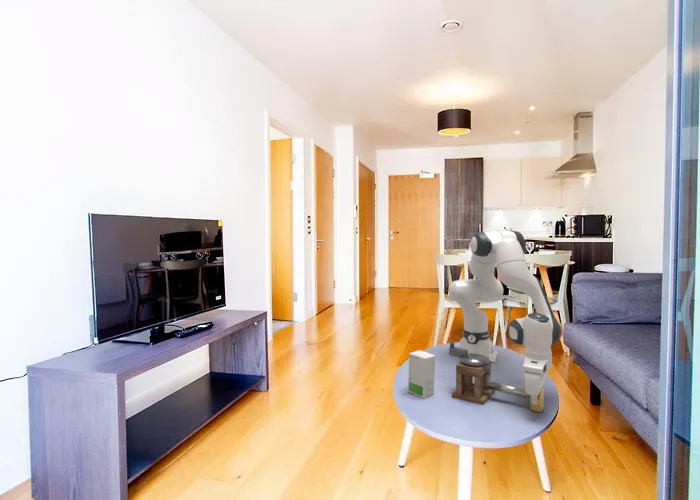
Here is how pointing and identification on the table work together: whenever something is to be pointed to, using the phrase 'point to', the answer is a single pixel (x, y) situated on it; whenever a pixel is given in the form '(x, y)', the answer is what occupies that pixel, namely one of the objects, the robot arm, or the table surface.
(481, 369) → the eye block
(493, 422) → the table surface
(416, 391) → the skincare box
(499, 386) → the gold cube on rod
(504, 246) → the robot arm
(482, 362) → the handwheel
